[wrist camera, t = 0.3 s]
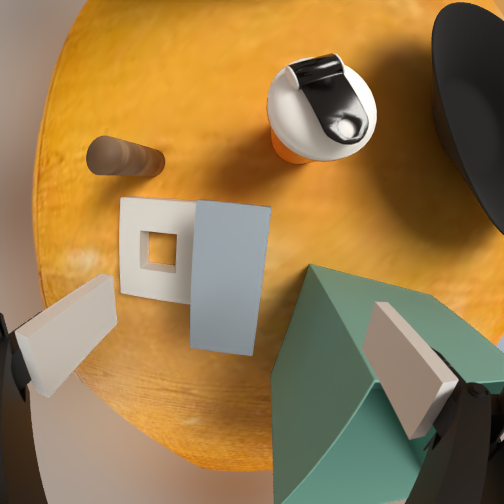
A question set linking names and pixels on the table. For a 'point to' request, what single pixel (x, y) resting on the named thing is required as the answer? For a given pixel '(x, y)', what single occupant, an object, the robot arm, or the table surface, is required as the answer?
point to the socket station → (200, 264)
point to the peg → (123, 158)
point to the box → (356, 392)
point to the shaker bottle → (319, 110)
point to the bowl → (471, 99)
